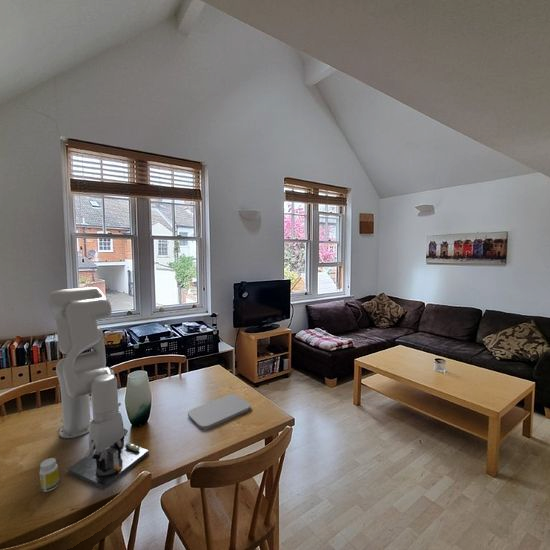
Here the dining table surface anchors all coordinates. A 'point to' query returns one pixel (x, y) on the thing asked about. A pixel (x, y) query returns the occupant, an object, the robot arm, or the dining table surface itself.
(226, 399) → the tablet
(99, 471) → the level dial
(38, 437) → the dining table surface
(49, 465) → the supplement bottle
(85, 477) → the base plate
